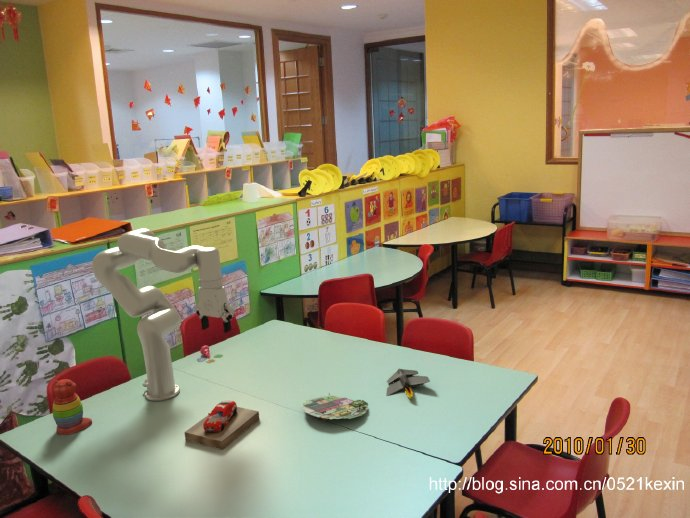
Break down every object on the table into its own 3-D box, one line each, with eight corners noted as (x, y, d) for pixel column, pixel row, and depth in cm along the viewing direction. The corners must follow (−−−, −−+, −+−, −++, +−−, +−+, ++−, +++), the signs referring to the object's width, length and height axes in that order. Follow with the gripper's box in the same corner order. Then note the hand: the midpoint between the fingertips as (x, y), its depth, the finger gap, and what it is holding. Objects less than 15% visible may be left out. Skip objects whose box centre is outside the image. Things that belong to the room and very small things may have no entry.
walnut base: (185, 440, 187) (184, 432, 186) (224, 411, 204) (223, 403, 203) (222, 449, 180) (221, 441, 179) (259, 419, 197) (258, 411, 196)
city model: (383, 407, 205) (382, 391, 204) (355, 433, 184) (355, 414, 183) (320, 398, 216) (320, 382, 215) (288, 421, 195) (287, 403, 194)
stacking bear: (95, 421, 202) (86, 374, 198) (73, 437, 193) (64, 388, 188) (70, 418, 205) (62, 372, 201) (48, 433, 196) (38, 384, 192)
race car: (219, 435, 183) (217, 421, 182) (200, 433, 184) (198, 419, 183) (240, 410, 198) (239, 397, 197) (223, 408, 200) (221, 395, 198)
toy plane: (436, 394, 203) (432, 381, 202) (390, 410, 203) (386, 396, 202) (421, 368, 228) (417, 356, 226) (380, 381, 227) (376, 369, 226)
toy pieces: (189, 360, 251) (188, 350, 250) (210, 351, 259) (209, 342, 258) (207, 366, 244) (206, 356, 243) (228, 357, 252) (227, 347, 251)
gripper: (184, 284, 199) (190, 331, 204) (224, 288, 192) (230, 336, 196) (198, 278, 206) (204, 323, 210) (238, 282, 198) (243, 329, 202)
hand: (216, 330), depth 203 cm, fingers open, 9 cm apart
